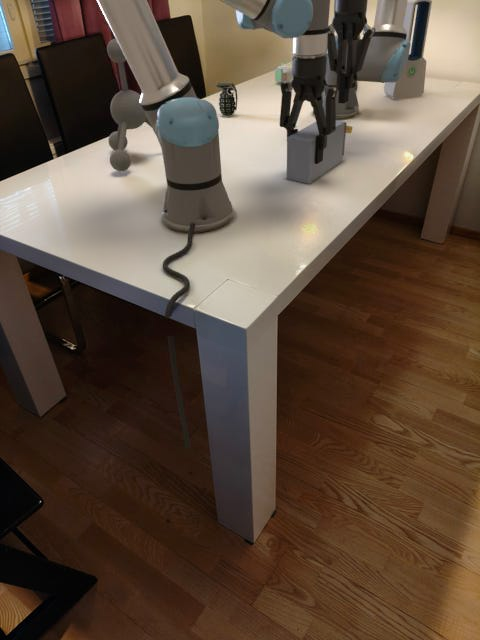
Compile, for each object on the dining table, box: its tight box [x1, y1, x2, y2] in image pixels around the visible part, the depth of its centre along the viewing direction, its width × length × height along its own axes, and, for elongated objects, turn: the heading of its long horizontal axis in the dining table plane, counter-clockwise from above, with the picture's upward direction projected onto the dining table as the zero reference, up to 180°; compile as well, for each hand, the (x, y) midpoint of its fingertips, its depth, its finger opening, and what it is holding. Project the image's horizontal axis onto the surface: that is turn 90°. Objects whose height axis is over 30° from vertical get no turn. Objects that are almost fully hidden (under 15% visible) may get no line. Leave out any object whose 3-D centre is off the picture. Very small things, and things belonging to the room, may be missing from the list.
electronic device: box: [383, 0, 433, 100], centre depth 169 cm, size 12×8×30 cm, turn 105°
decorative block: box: [274, 61, 293, 83], centre depth 206 cm, size 26×6×20 cm
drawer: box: [342, 121, 353, 157], centre depth 126 cm, size 22×5×8 cm, turn 144°
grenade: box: [215, 82, 238, 117], centre depth 166 cm, size 7×6×10 cm
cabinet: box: [286, 119, 346, 185], centre depth 123 cm, size 18×6×10 cm, turn 144°
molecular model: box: [106, 37, 152, 172], centre depth 131 cm, size 24×22×30 cm
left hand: (305, 159), depth 120 cm, fingers closed on cabinet, 6 cm apart
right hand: (343, 101), depth 126 cm, fingers closed
